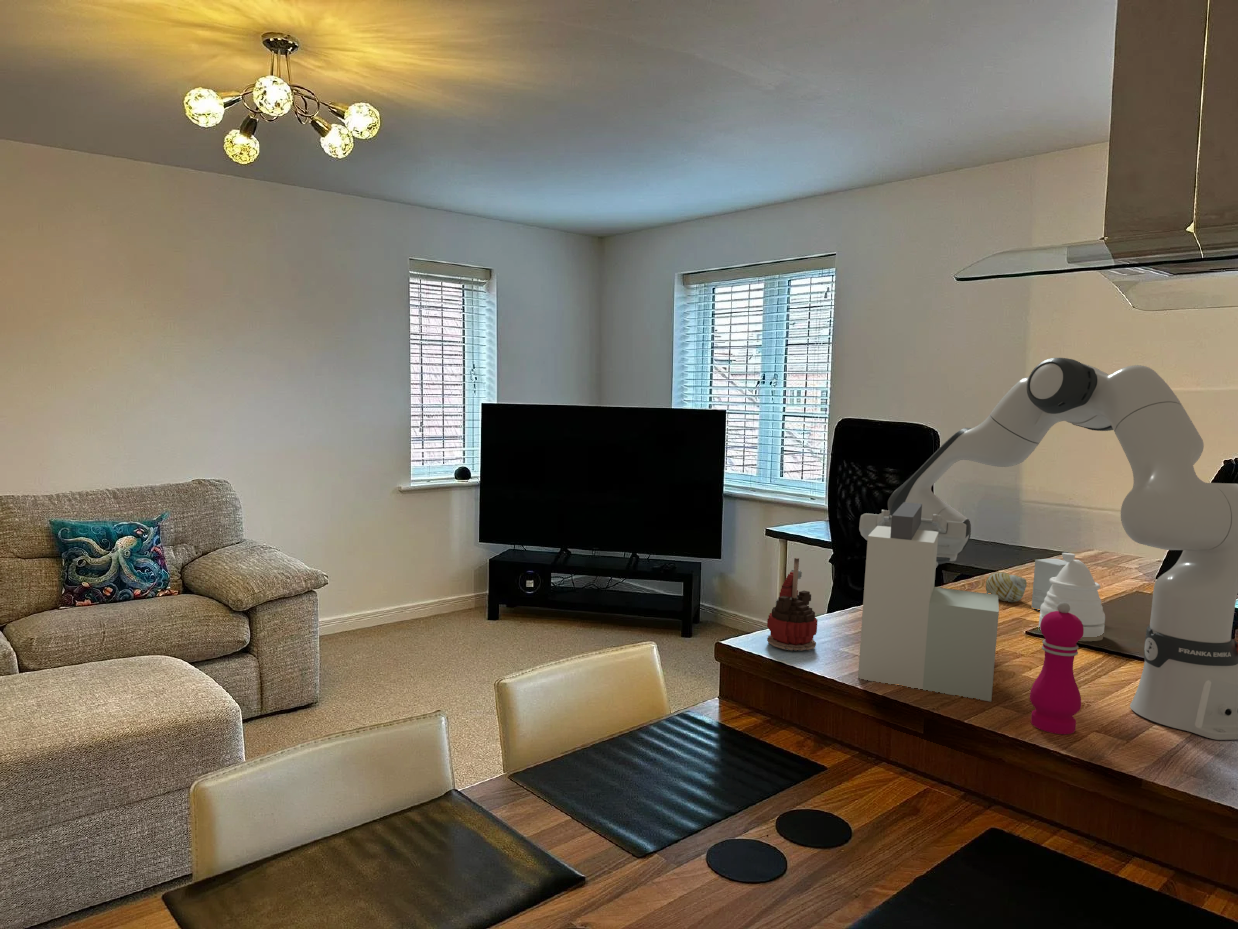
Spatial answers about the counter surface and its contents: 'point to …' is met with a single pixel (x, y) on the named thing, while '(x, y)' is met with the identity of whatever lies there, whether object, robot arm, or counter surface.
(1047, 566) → the supplement box
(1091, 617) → the honey pot
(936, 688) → the step stand
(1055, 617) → the pepper mill
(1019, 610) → the counter surface
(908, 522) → the gray rectangular bar
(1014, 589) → the yarn ball
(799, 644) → the cake
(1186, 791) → the counter surface
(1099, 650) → the counter surface
